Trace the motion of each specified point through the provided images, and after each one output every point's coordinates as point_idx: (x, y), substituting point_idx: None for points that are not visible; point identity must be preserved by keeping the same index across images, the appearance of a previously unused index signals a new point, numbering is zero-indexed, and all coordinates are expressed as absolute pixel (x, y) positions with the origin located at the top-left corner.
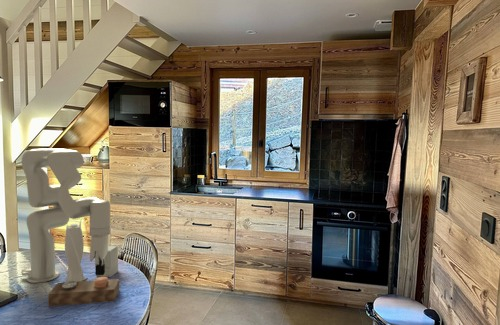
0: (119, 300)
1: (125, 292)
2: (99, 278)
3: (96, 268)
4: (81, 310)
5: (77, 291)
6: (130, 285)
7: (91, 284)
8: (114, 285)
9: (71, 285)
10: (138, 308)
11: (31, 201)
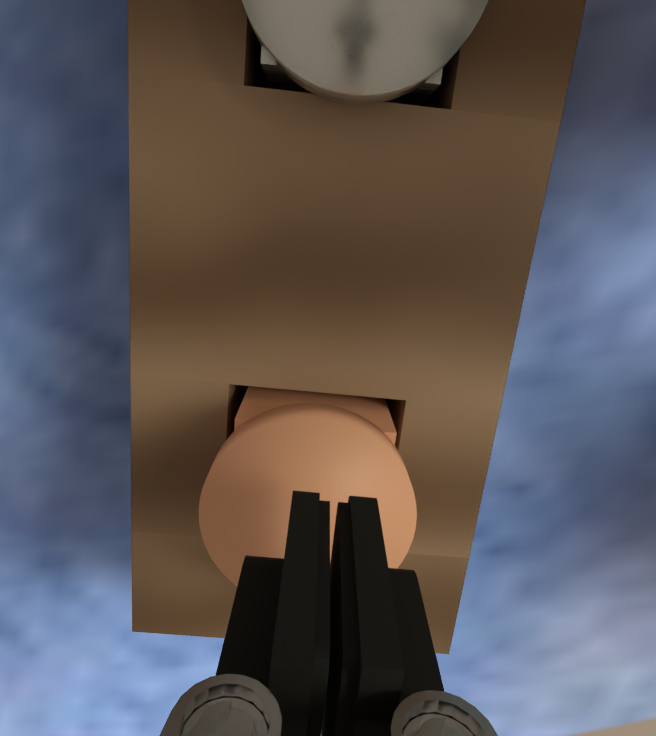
0: None
1: None
2: (355, 488)
3: (279, 613)
4: (32, 253)
5: (147, 165)
6: (495, 637)
7: (364, 336)
8: None
9: (271, 10)
10: (14, 715)
11: None
